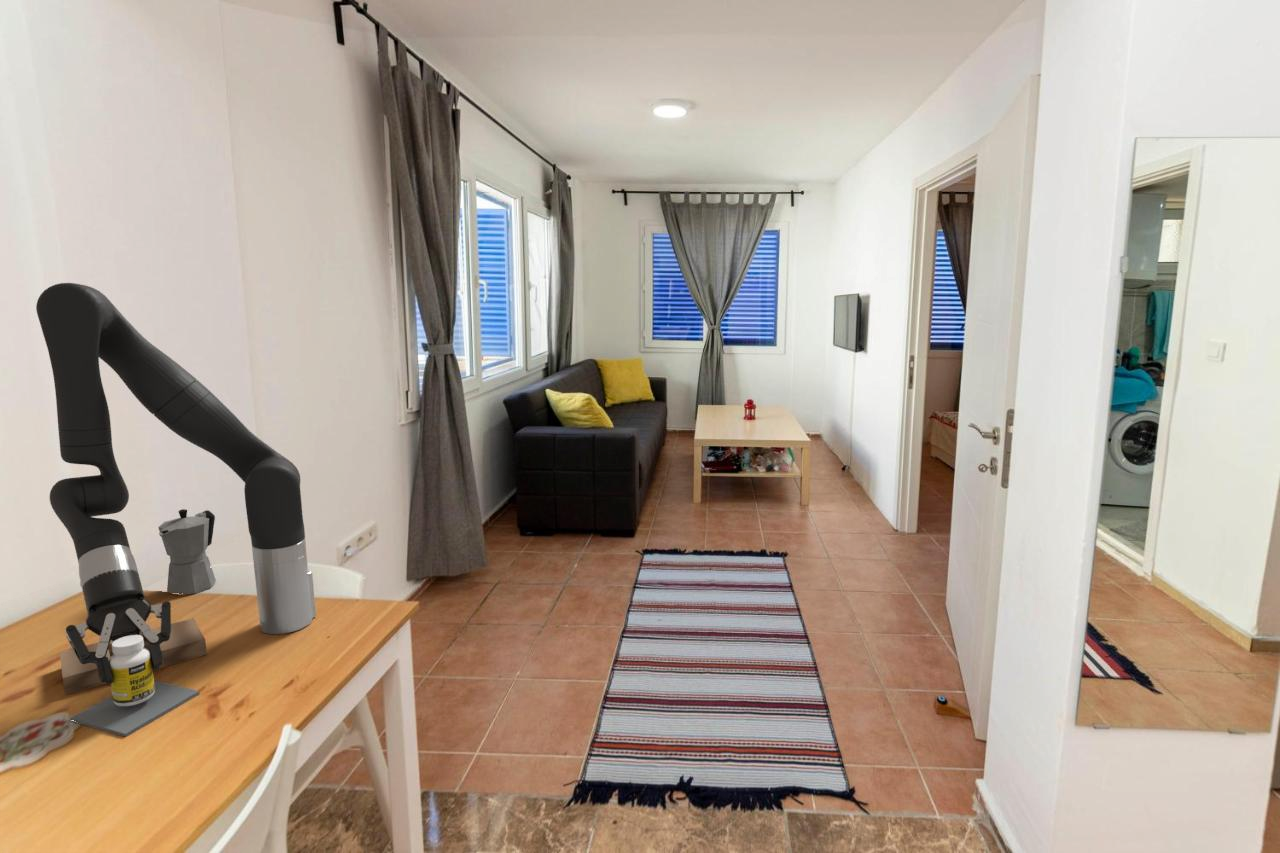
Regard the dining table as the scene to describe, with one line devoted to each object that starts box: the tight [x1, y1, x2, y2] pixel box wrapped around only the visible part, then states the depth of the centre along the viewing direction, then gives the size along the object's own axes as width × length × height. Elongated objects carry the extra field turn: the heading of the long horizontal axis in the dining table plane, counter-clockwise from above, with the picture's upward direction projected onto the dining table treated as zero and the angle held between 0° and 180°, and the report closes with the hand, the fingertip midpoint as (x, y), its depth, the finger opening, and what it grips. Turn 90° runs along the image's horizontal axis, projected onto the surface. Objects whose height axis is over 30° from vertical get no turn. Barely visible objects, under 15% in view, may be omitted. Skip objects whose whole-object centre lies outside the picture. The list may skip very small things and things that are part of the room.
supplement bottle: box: [109, 635, 155, 706], centre depth 110 cm, size 5×5×10 cm
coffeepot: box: [158, 508, 217, 595], centre depth 155 cm, size 15×9×18 cm, turn 174°
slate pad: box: [69, 679, 201, 737], centre depth 111 cm, size 12×12×1 cm
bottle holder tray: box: [59, 617, 208, 696], centre depth 124 cm, size 20×11×3 cm, turn 131°
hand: (133, 674), depth 109 cm, fingers closed on supplement bottle, 5 cm apart
